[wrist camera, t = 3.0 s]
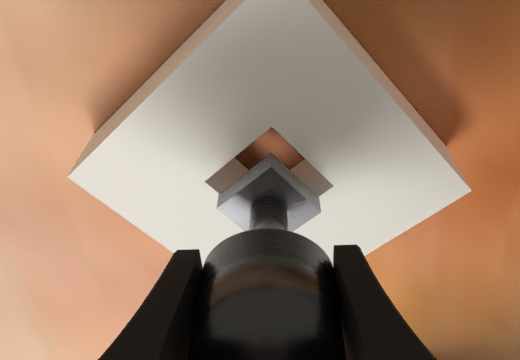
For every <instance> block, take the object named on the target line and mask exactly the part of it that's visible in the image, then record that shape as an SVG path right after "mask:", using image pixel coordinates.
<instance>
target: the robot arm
mask: <svg viewBox="0 0 520 360" xmlns="http://www.w3.org/2000/svg"><path fill="white" fill-rule="evenodd" d="M333 269H334V275H335V283H336V290H337V297H338V304H339V311H340V318H341V325H342V332H343V339H344V346H345V353H346V360H437V359H436V358H435V357H434V356H433V355H432V354H431V352H430V351H429V350H428V349H427V348H426V347H425V345H424V344H423V343H422V342H421V341H420V339H419V338H418V337H417V336H416V334H415V333H414V332H413V331H412V329H411V328H410V327H409V325H408V324H407V323H406V321H405V320H404V319H403V317H402V316H401V315H400V313H399V312H398V310H397V309H396V308H395V306H394V305H393V303H392V302H391V300H390V299H389V297H388V296H387V294H386V293H385V291H384V290H383V288H382V286H381V285H380V283H379V282H378V280H377V278H376V277H375V275H374V273H373V272H372V270H371V268H370V266H369V264H368V262H367V261H366V259H365V257H364V255H363V253H362V250H361V248H360V247H359V246H358V245H357V244H356V245H334V250H333ZM202 270H203V267H202V262H201V256H200V251H199V249H190V250H177V251H176V252H175V253H174V254H173V256H172V257H171V259H170V261H169V263H168V264H167V266H166V268H165V269H164V271H163V273H162V274H161V276H160V278H159V279H158V281H157V282H156V284H155V285H154V287H153V289H152V290H151V292H150V293H149V294H148V296H147V297H146V299H145V300H144V302H143V303H142V305H141V306H140V308H139V309H138V310H137V312H136V313H135V315H134V316H133V317H132V319H131V320H130V321H129V322H128V324H127V325H126V326H125V328H124V329H123V330H122V332H121V333H120V334H119V336H118V337H117V338H116V339H115V340H114V342H113V343H112V344H111V345H110V346H109V348H108V349H107V350H106V351H105V352H104V354H103V355H102V356H101V357H100V358H99V359H98V360H188V354H189V348H190V342H191V336H192V330H193V324H194V318H195V312H196V306H197V300H198V294H199V288H200V282H201V276H202Z"/></svg>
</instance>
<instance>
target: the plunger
mask: <svg viewBox="0 0 520 360" xmlns="http://www.w3.org/2000/svg"><path fill="white" fill-rule="evenodd" d="M217 210H219V211H220V212H221V213H222V214H224V215H225V216H226V217H227V218H229V219H230V220H231V221H232V222H234V223H235V224H236V225H237V226H239V227H240V228H241V229H242V230H244V232H241V233H238V234H235V235H233V236H231V237H228V238H227V239H225V240H223V241H222V242H220V243H219V244H218V245H217V246H216V247H214V249H213V250H212V251H211V252H210V253H209V255H208V256H207V258H206V260H205V262H204V265H203V270H202V276H201V282H200V288H199V294H198V300H197V306H196V312H195V318H194V324H193V330H192V336H191V342H190V348H189V354H188V360H346V353H345V346H344V339H343V332H342V325H341V318H340V311H339V304H338V297H337V290H336V283H335V275H334V269H333V265H332V262H331V260H330V259H329V257H328V255H327V254H326V253H325V251H324V250H323V249H322V248H321V247H320V246H319V245H317V244H316V243H315V242H313V241H312V240H310V239H308V238H306V237H304V236H302V235H300V234H297V233H294V232H293V231H295V230H296V229H297V228H299V227H300V226H302V225H303V224H305V223H306V222H308V221H309V220H311V219H312V218H314V217H315V216H317V215H318V214H319V213H321V207H320V199H319V197H318V196H317V195H316V194H315V193H314V192H313V191H312V190H311V189H309V188H308V187H307V186H306V185H305V184H304V183H303V182H302V181H301V180H300V179H299V178H298V177H296V176H295V175H294V174H293V173H292V172H291V171H290V170H289V169H288V168H287V167H286V166H285V165H283V164H282V163H281V162H280V161H279V160H278V159H277V158H276V157H275V156H274V155H273V154H272V153H270V154H269V155H268V156H266V157H265V158H264V159H263V160H261V161H260V162H259V163H258V164H256V165H255V166H254V167H252V168H251V169H250V170H249V171H247V172H246V173H245V174H244V175H242V176H241V177H240V178H239V179H237V180H236V181H235V182H233V183H232V184H231V185H230V186H228V187H227V188H226V189H225V190H223V191H222V192H221V193H220V194H219V196H218V202H217Z"/></svg>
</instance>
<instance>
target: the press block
mask: <svg viewBox="0 0 520 360" xmlns="http://www.w3.org/2000/svg"><path fill="white" fill-rule="evenodd" d="M271 127H273V128H274V129H275V130H276V131H277V132H278V133H279V134H280V135H281V136H282V137H283V138H284V139H285V140H286V141H287V142H288V143H289V144H290V145H291V146H292V147H294V148H295V149H296V150H297V151H298V152H299V153H300V154H301V155H302V156H303V157H304V158H305V159H304V160H302V161H301V162H300V163H298V164H297V165H296V166H294V167H293V168H292V169H290V171H291V172H292V173H293V174H294V175H295V176H296V177H298V178H299V179H300V180H301V181H302V182H303V183H304V184H305V185H306V186H307V187H308V188H309V189H311V190H312V191H313V192H314V193H315V194H316V195H317V196H318V197H319V199H320V207H321V213H319V214H318V215H317V216H315V217H314V218H312V219H311V220H309V221H308V222H306V223H305V224H303V225H302V226H300V227H299V228H297V229H296V230H295V231H293V232H294V233H297V234H300V235H302V236H304V237H306V238H308V239H310V240H312V241H313V242H315V243H316V244H317V245H319V246H320V247H321V248H322V249H323V250H324V251H325V253H326V254H327V255H328V257H329V259H330V260H331V262H332V265H333V250H334V245H356V244H357V245H358V246H359V247H360V248H361V250H362V253H363V255H364V256H365V255H367V254H368V253H370V252H372V251H373V250H375V249H377V248H378V247H380V246H382V245H383V244H385V243H387V242H388V241H390V240H391V239H393V238H395V237H396V236H398V235H400V234H401V233H403V232H405V231H406V230H408V229H410V228H411V227H413V226H415V225H416V224H418V223H419V222H421V221H423V220H424V219H426V218H428V217H429V216H431V215H433V214H434V213H436V212H438V211H439V210H441V209H443V208H444V207H446V206H448V205H449V204H451V203H452V202H454V201H456V200H457V199H459V198H461V197H462V196H464V195H466V194H467V193H469V192H471V191H472V190H471V189H470V187H469V185H468V183H467V182H466V180H465V178H464V176H463V175H462V173H461V171H460V169H459V168H458V166H457V164H456V162H455V161H454V159H453V157H452V155H451V154H450V152H449V150H448V148H447V147H446V145H445V144H444V143H443V142H442V141H441V140H440V138H439V137H438V136H437V135H436V134H435V132H434V131H433V130H432V129H431V128H430V127H429V125H428V124H427V123H426V122H425V121H424V119H423V118H422V117H421V116H420V115H419V114H418V112H417V111H416V110H415V109H414V108H413V106H412V105H411V104H410V103H409V102H408V101H407V99H406V98H405V97H404V96H403V95H402V93H401V92H400V91H399V90H398V89H397V88H396V86H395V85H394V84H393V83H392V82H391V80H390V79H389V78H388V77H387V76H386V74H385V73H384V72H383V71H382V70H381V69H380V67H379V66H378V65H377V64H376V63H375V61H374V60H373V59H372V58H371V57H370V56H369V54H368V53H367V52H366V51H365V50H364V48H363V47H362V46H361V45H360V44H359V43H358V41H357V40H356V39H355V38H354V37H353V35H352V34H351V33H350V32H349V31H348V30H347V28H346V27H345V26H344V25H343V24H342V22H341V21H340V20H339V19H338V18H337V17H336V15H335V14H334V13H333V12H332V11H331V9H330V8H329V7H328V6H327V5H326V3H325V2H324V1H323V0H226V1H225V2H224V3H223V4H222V5H221V6H220V7H219V8H218V9H217V10H216V11H215V12H214V13H213V14H212V15H211V16H210V17H209V18H208V19H207V20H206V21H205V22H204V23H203V24H202V25H201V26H200V27H199V28H198V29H197V30H196V31H195V32H194V33H193V34H192V35H191V36H190V37H189V38H188V39H187V40H186V41H185V42H184V43H183V44H182V45H181V46H180V47H179V48H178V49H177V50H176V51H175V52H174V53H173V54H172V55H171V56H170V57H169V58H168V59H167V60H166V61H165V62H164V64H163V65H162V66H161V67H160V68H159V69H158V70H157V71H156V72H155V73H154V74H153V75H152V76H151V77H150V78H149V79H148V80H147V81H146V82H145V83H144V84H143V85H142V86H141V87H140V88H139V89H138V90H137V91H136V92H135V93H134V94H133V95H132V96H131V97H130V98H129V99H128V100H127V101H126V102H125V103H124V104H123V105H122V106H121V107H120V108H119V109H118V110H117V111H116V112H115V113H114V114H113V115H112V116H111V117H110V118H109V119H108V120H107V121H106V122H105V123H104V124H103V125H102V126H101V127H100V129H99V130H98V131H97V132H96V133H95V134H94V135H93V136H92V138H91V139H90V141H89V143H88V144H87V146H86V147H85V149H84V151H83V152H82V154H81V156H80V157H79V159H78V160H77V162H76V164H75V165H74V167H73V168H72V170H71V172H70V173H69V175H68V178H69V179H71V180H72V181H73V182H75V183H76V184H78V185H79V186H80V187H82V188H83V189H85V190H86V191H87V192H89V193H90V194H92V195H93V196H94V197H96V198H97V199H99V200H100V201H101V202H103V203H104V204H106V205H107V206H108V207H110V208H111V209H113V210H114V211H115V212H117V213H118V214H120V215H121V216H122V217H124V218H125V219H127V220H128V221H129V222H131V223H132V224H134V225H135V226H136V227H138V228H139V229H141V230H142V231H143V232H145V233H146V234H147V235H149V236H150V237H152V238H153V239H154V240H156V241H157V242H159V243H160V244H161V245H163V246H164V247H166V248H167V249H168V250H170V251H171V252H173V253H175V252H176V251H177V250H190V249H199V251H200V256H201V262H202V267H203V265H204V262H205V260H206V258H207V256H208V255H209V253H210V252H211V251H212V250H213V249H214V247H216V246H217V245H218V244H219V243H220V242H222V241H223V240H225V239H227V238H228V237H231V236H233V235H235V234H238V233H241V232H244V230H242V229H241V228H240V227H239V226H237V225H236V224H235V223H234V222H232V221H231V220H230V219H229V218H227V217H226V216H225V215H224V214H222V213H221V212H220V211H219V210H217V202H218V196H219V194H220V193H221V192H222V191H223V190H225V189H226V188H227V187H228V186H230V185H231V184H232V183H233V182H235V181H236V180H237V179H239V178H240V177H241V176H242V175H244V174H245V173H246V172H247V171H249V170H248V169H247V168H246V167H245V166H244V165H242V164H241V163H240V162H239V161H238V160H237V159H236V158H235V156H236V155H238V154H239V153H240V152H241V151H243V150H244V149H245V148H246V147H247V146H249V145H250V144H251V143H252V142H254V141H255V140H256V139H257V138H258V137H260V136H261V135H262V134H263V133H265V132H266V131H267V130H268V129H269V128H271Z"/></svg>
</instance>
